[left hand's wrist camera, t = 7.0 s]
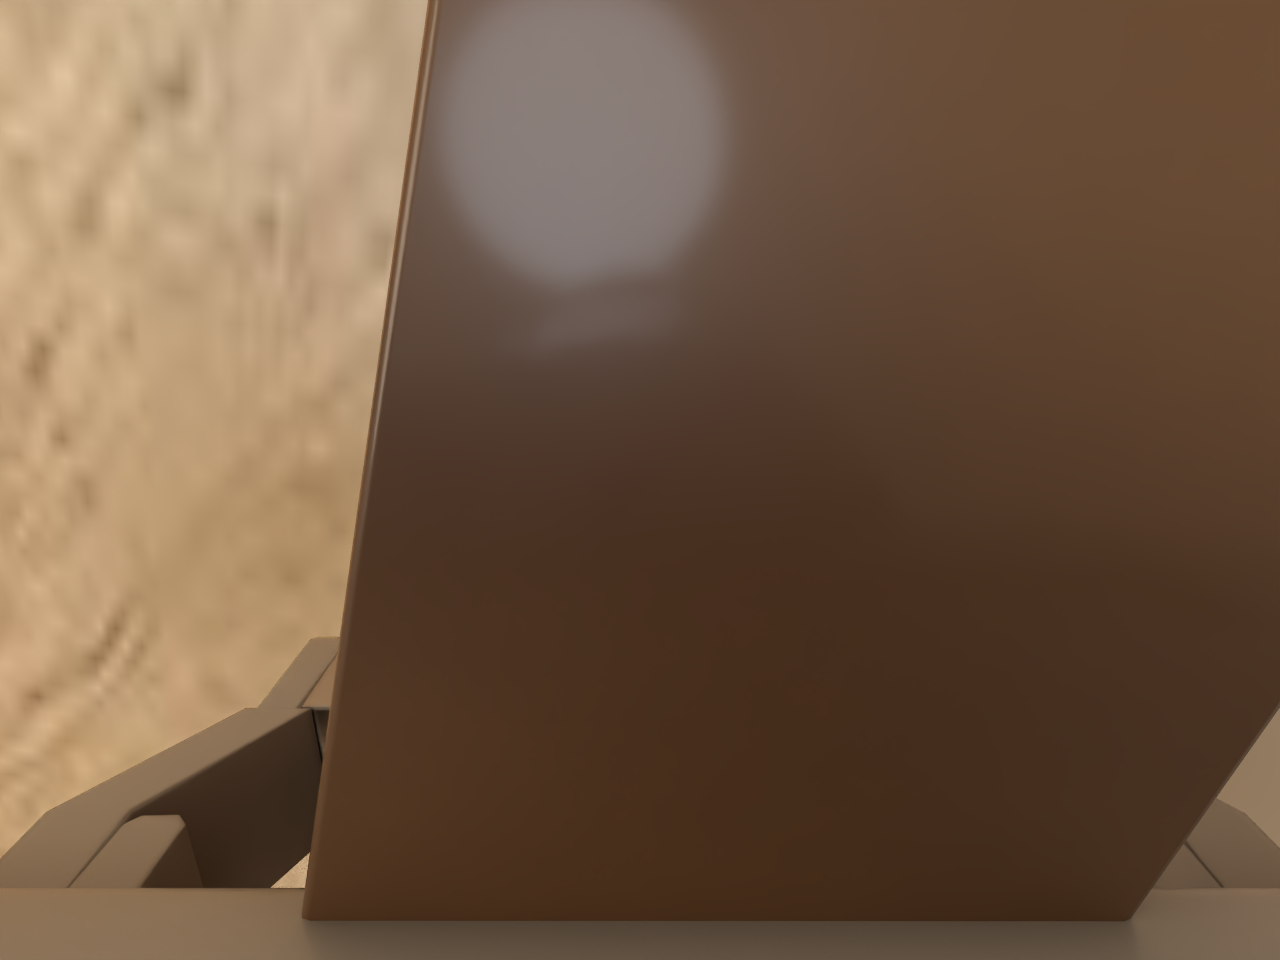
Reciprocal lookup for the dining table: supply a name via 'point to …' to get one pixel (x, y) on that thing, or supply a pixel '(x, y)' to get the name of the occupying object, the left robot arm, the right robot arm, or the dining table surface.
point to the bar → (813, 463)
